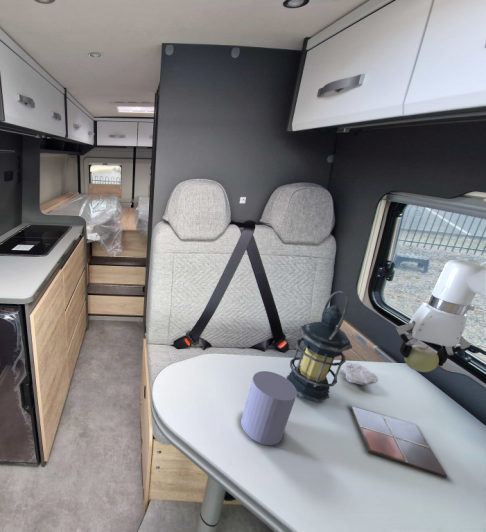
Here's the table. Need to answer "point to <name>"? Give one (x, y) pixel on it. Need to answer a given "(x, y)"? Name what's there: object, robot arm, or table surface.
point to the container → (268, 407)
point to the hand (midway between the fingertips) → (420, 358)
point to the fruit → (422, 359)
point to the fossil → (358, 374)
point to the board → (396, 441)
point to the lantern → (320, 353)
